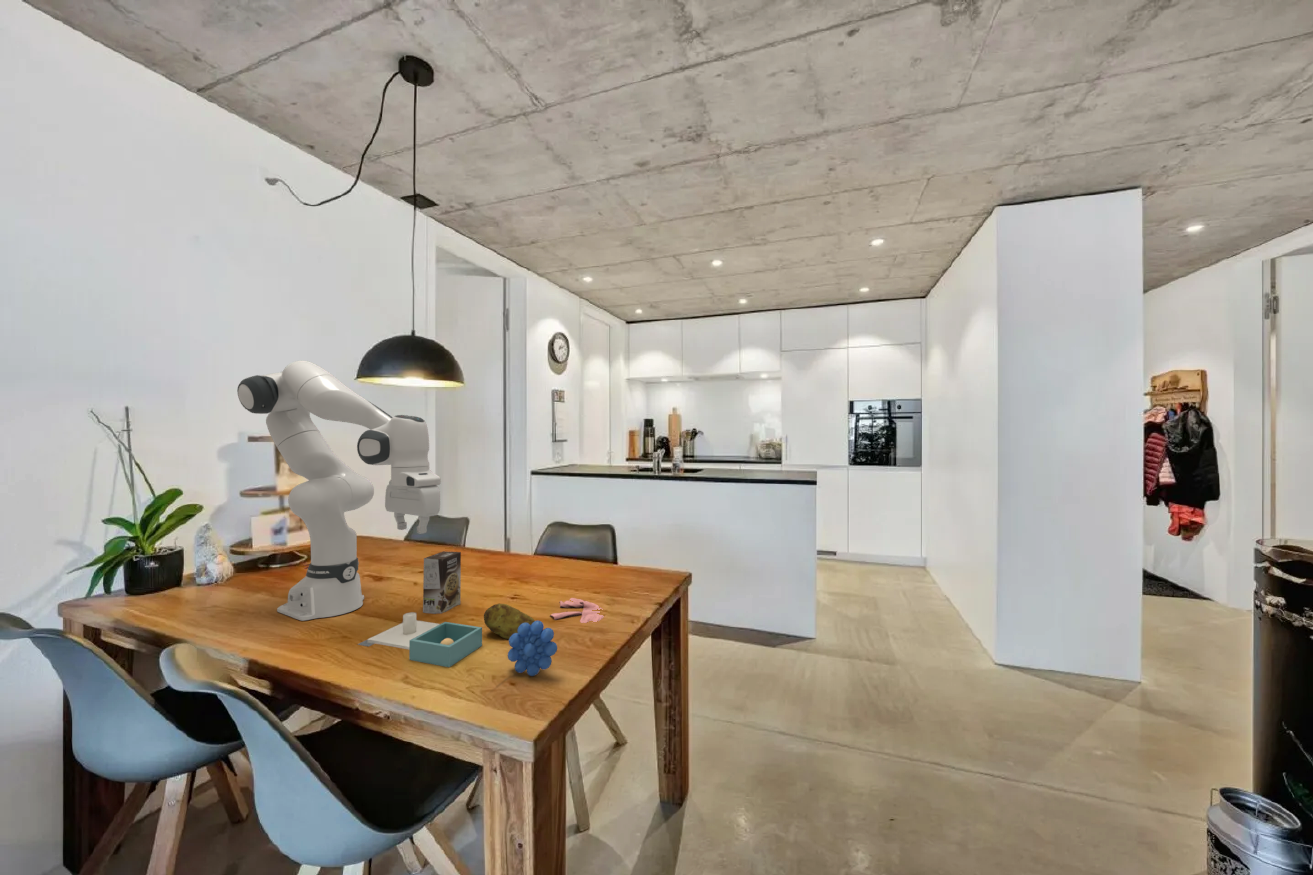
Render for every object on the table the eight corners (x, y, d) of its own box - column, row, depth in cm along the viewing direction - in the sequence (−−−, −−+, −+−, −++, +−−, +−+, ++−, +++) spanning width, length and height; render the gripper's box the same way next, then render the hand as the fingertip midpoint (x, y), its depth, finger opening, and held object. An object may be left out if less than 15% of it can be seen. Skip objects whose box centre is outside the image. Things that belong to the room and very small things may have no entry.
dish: (409, 662, 105) (409, 640, 105) (444, 641, 116) (444, 621, 116) (449, 669, 102) (449, 647, 102) (482, 647, 112) (482, 627, 112)
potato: (519, 648, 113) (519, 615, 112) (478, 638, 117) (478, 607, 117) (540, 634, 120) (540, 603, 120) (500, 626, 125) (500, 596, 125)
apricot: (436, 654, 108) (436, 640, 108) (446, 648, 111) (446, 635, 111) (447, 656, 107) (447, 642, 107) (457, 650, 110) (457, 636, 110)
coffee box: (441, 615, 132) (442, 559, 132) (422, 613, 133) (422, 557, 133) (461, 604, 141) (461, 551, 141) (442, 602, 142) (443, 550, 142)
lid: (367, 642, 114) (367, 621, 114) (409, 622, 126) (409, 602, 126) (409, 650, 110) (409, 627, 110) (449, 628, 123) (449, 608, 122)
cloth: (604, 627, 126) (604, 618, 126) (525, 626, 127) (525, 617, 127) (613, 600, 147) (613, 593, 147) (544, 599, 147) (544, 592, 147)
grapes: (565, 669, 102) (566, 615, 102) (551, 685, 96) (551, 627, 96) (518, 662, 105) (519, 609, 105) (501, 677, 99) (501, 621, 99)
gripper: (377, 477, 123) (378, 529, 123) (420, 480, 112) (421, 537, 112) (401, 475, 128) (402, 525, 128) (444, 478, 117) (445, 532, 117)
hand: (411, 531), depth 120 cm, fingers open, 8 cm apart
